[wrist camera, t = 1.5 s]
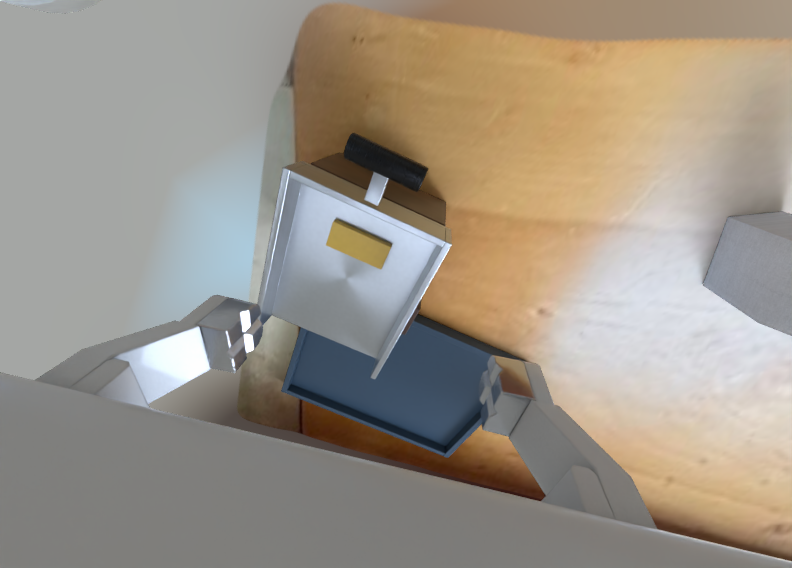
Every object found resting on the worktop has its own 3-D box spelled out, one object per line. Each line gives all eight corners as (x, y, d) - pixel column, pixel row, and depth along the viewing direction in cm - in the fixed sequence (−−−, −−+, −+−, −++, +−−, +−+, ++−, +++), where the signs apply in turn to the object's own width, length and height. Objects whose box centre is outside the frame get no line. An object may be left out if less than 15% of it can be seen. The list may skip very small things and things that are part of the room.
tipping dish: (269, 310, 29) (250, 331, 26) (314, 106, 20) (291, 105, 17) (381, 357, 30) (374, 382, 27) (476, 184, 20) (481, 195, 18)
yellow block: (328, 242, 24) (325, 245, 23) (335, 218, 23) (333, 221, 22) (382, 266, 24) (381, 270, 24) (392, 244, 23) (391, 247, 23)
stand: (300, 243, 33) (264, 275, 26) (325, 145, 27) (287, 155, 21) (413, 293, 34) (405, 335, 27) (459, 208, 28) (462, 236, 22)
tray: (286, 383, 45) (281, 391, 44) (321, 272, 34) (315, 278, 33) (447, 448, 47) (447, 458, 46) (530, 362, 36) (533, 372, 35)
